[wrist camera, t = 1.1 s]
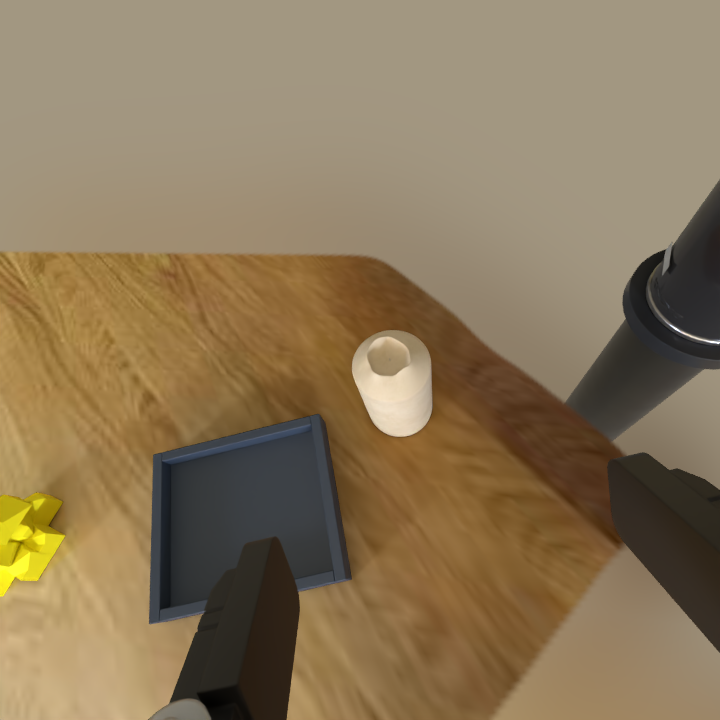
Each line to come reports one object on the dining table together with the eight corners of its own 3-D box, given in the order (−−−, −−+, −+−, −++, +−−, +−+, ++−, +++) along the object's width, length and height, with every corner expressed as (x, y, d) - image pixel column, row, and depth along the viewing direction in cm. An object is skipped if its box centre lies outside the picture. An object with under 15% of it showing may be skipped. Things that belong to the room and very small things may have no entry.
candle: (444, 397, 38) (446, 342, 29) (409, 450, 36) (399, 409, 27) (392, 367, 40) (378, 306, 31) (356, 415, 38) (331, 366, 29)
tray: (325, 421, 38) (318, 413, 36) (351, 579, 33) (346, 579, 31) (167, 460, 39) (153, 454, 37) (166, 621, 33) (148, 624, 31)
